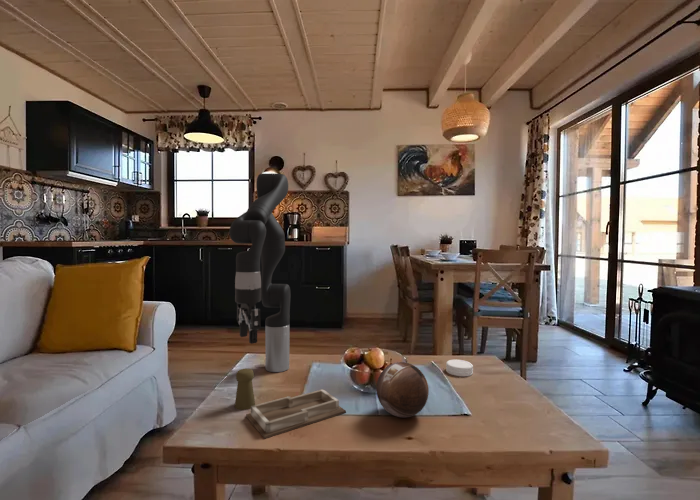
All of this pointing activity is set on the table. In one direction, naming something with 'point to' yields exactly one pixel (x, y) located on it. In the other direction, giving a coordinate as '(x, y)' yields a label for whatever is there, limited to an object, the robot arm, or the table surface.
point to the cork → (244, 389)
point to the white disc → (459, 367)
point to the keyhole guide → (293, 412)
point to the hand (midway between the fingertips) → (248, 339)
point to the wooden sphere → (402, 389)
